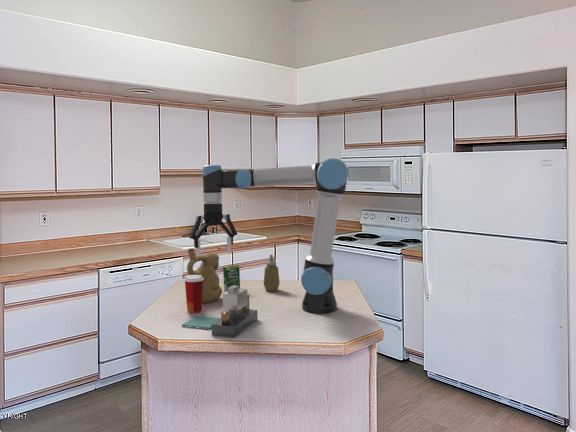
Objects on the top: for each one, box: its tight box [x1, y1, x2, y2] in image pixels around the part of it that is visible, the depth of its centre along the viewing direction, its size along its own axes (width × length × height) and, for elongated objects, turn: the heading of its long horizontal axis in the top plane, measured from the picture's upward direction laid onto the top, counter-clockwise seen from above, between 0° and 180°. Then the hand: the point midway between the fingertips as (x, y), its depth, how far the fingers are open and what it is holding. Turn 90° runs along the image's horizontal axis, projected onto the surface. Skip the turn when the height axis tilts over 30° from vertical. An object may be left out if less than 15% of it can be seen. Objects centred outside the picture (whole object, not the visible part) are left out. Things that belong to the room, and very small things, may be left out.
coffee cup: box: [183, 274, 204, 314], centre depth 207 cm, size 8×8×15 cm
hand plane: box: [211, 294, 259, 338], centre depth 186 cm, size 9×22×10 cm, turn 161°
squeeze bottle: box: [263, 254, 281, 293], centre depth 241 cm, size 8×8×18 cm
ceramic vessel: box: [186, 248, 223, 304], centre depth 224 cm, size 17×20×25 cm
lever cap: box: [222, 285, 248, 311], centre depth 185 cm, size 6×9×8 cm, turn 161°
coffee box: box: [222, 264, 241, 293], centre depth 240 cm, size 8×3×13 cm, turn 125°
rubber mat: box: [181, 315, 221, 330], centre depth 191 cm, size 12×12×1 cm
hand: (214, 254), depth 201 cm, fingers open, 13 cm apart
